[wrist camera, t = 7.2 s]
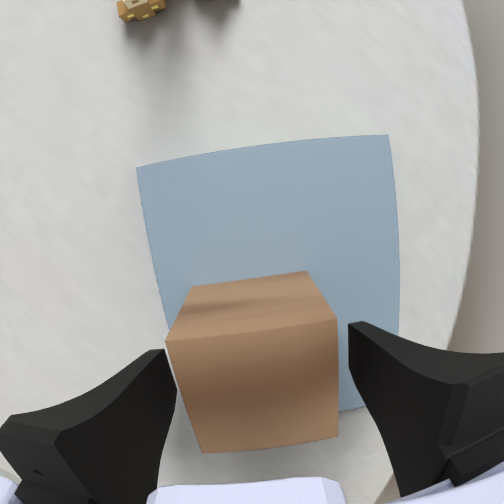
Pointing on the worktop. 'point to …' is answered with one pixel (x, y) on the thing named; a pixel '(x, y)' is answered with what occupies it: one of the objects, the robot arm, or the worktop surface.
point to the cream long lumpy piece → (139, 9)
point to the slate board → (282, 226)
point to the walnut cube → (257, 363)
